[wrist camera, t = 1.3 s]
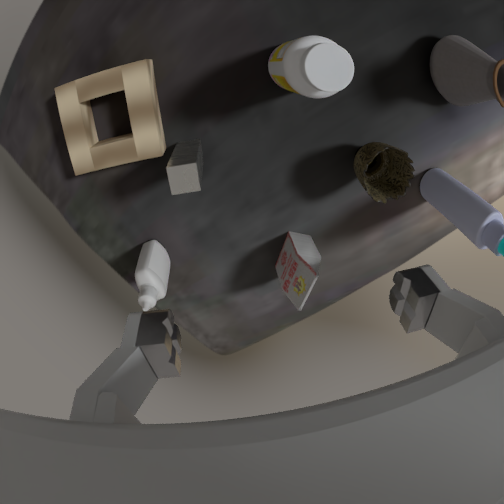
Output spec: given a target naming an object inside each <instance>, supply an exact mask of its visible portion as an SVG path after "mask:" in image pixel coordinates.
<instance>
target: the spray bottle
mask: <svg viewBox="0 0 504 504" xmlns="http://www.w3.org/2000/svg"><path fill="white" fill-rule="evenodd" d="M420 192H421V195H422V197H423V198H424V199H425V200H427V201H428V202H429V203H430V204H431V205H432V206H434V207H435V208H436V209H437V210H438V211H439V212H440V213H442V214H443V215H444V216H445V217H446V218H447V219H448V220H449V221H450V222H452V223H453V224H454V225H455V226H456V227H457V228H458V229H459V230H460V231H461V232H462V233H463V234H464V235H465V236H467V238H468V239H470V240H471V241H472V242H473V243H474V244H475V245H476V246H477V247H478V248H479V249H486V248H489V249H490V250H491V251H492V252H493V253H495V255H496V256H500V255H503V256H504V225H503V216H502V214H501V213H500V212H499V211H498V210H496V209H495V208H494V207H493V206H492V205H490V204H489V203H488V202H486V201H485V200H484V199H483V198H481V197H480V196H479V195H477V194H476V193H475V192H473V191H472V190H470V189H469V188H468V187H466V186H465V185H463V184H462V183H461V182H459V181H458V180H456V179H455V178H453V177H452V176H451V175H449V174H448V173H446V172H445V171H443V170H442V169H439V168H433V169H430V170H429V171H427V172H426V173H425V174H424V176H423V177H422V180H421V183H420Z"/></svg>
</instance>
